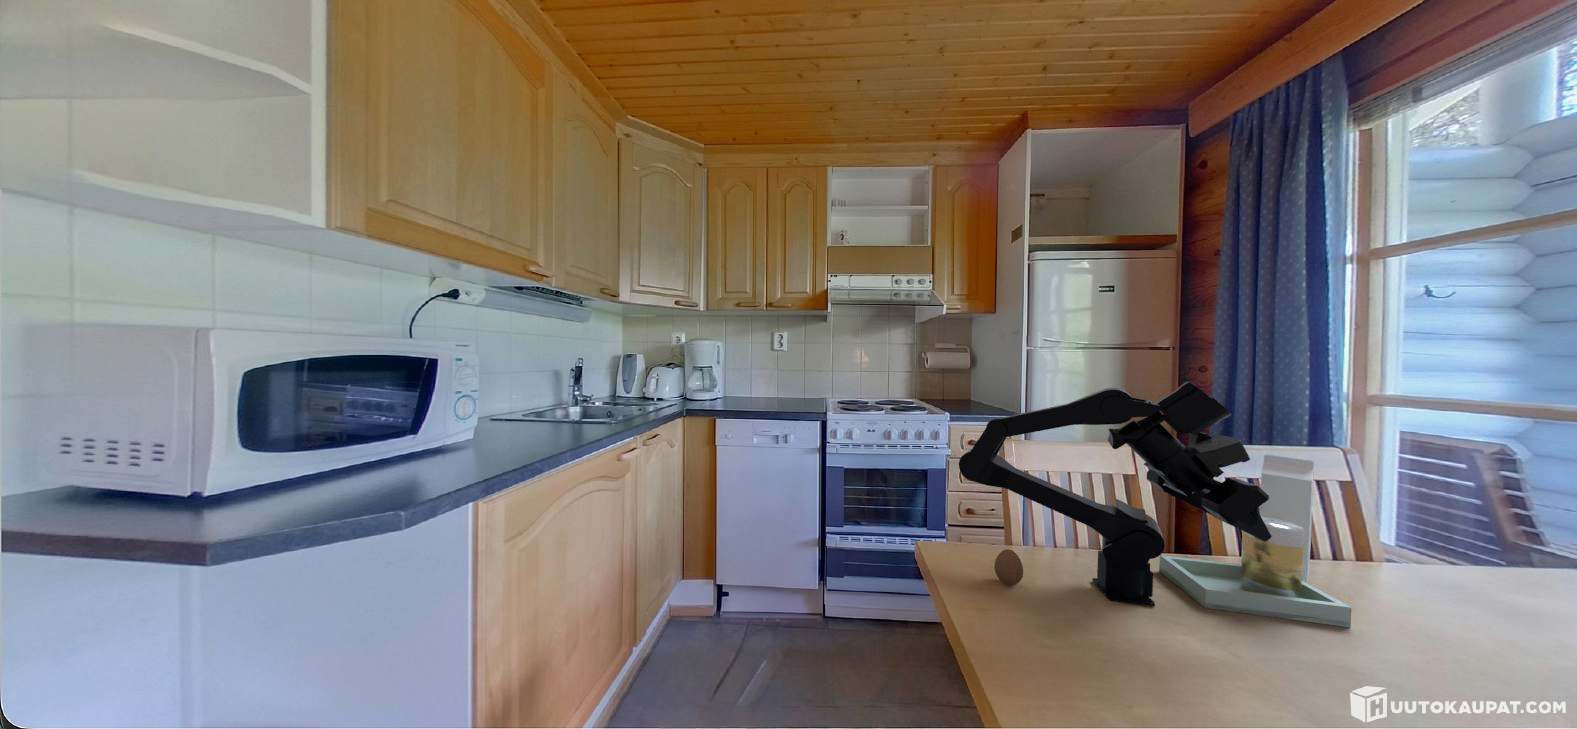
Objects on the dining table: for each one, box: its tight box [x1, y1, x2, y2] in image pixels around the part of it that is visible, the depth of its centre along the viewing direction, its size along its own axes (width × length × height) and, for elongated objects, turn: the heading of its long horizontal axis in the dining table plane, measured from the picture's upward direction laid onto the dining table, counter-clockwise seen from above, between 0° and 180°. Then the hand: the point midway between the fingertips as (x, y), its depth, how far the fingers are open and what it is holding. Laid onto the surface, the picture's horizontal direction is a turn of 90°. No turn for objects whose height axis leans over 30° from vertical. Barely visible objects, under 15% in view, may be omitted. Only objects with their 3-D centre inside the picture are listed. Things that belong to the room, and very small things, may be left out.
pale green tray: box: [1159, 554, 1352, 628], centre depth 71 cm, size 18×12×3 cm, turn 76°
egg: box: [993, 548, 1024, 586], centre depth 74 cm, size 4×4×6 cm
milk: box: [1259, 454, 1315, 584], centre depth 79 cm, size 6×6×22 cm
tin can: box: [1240, 517, 1304, 598], centre depth 70 cm, size 7×7×12 cm
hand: (1242, 526), depth 66 cm, fingers open, 9 cm apart
